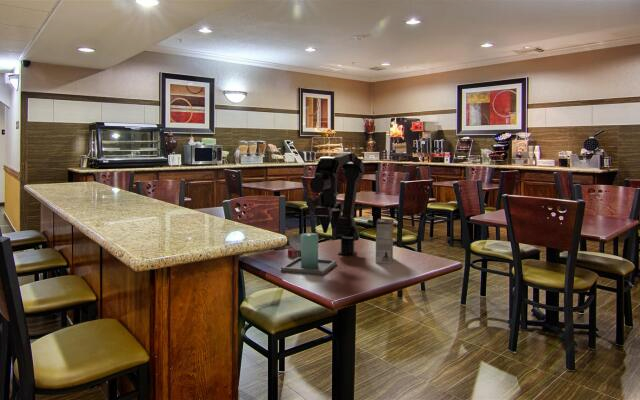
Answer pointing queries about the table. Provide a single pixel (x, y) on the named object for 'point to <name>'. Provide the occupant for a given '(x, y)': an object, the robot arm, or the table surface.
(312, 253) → the green rounded cylinder
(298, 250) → the canned food
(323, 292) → the table surface
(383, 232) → the coffee box
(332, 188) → the robot arm
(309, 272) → the tray
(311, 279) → the table surface
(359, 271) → the table surface
